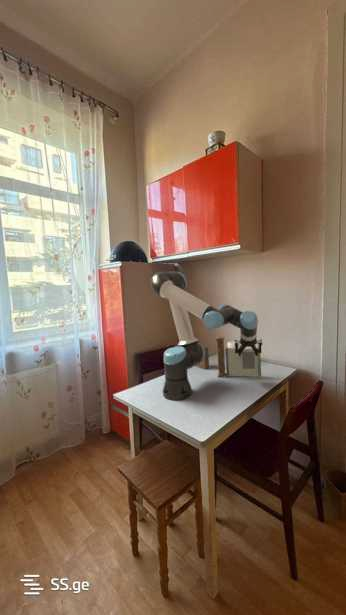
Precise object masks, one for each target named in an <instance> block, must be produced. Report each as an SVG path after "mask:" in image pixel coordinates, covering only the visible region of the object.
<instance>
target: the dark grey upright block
mask: <svg viewBox="0 0 346 615" xmlns="http://www.w3.org/2000/svg"><path fill="white" fill-rule="evenodd" d="M242 363H243V369H255V361H254V350H253V349H244V350H243V351H242Z"/></svg>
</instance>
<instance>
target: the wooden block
mask: <svg viewBox="0 0 346 615" xmlns="http://www.w3.org/2000/svg"><path fill="white" fill-rule="evenodd" d="M196 339H197V340H198V343H200V339H198V338H196ZM203 348H204V350H205V357H204V359H203V361H202V362H200V363H199V364H198V365H195V366H194V367H198V368H201V369H204V370H208V369H210V358H209V357H210V356H209V347H203Z"/></svg>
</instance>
